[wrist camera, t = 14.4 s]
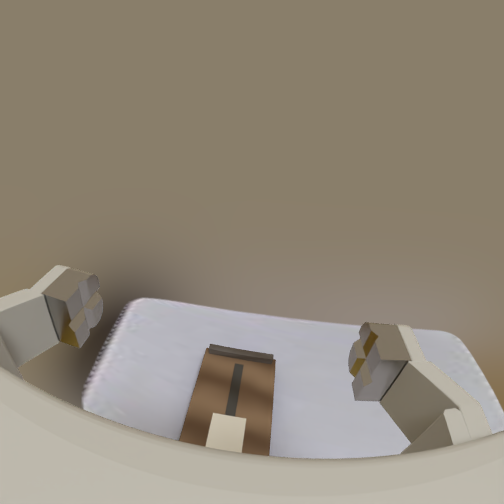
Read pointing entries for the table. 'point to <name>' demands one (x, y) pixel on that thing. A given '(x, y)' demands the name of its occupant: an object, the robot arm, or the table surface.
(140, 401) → the table surface
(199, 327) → the table surface
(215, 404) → the fader track
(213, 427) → the fader tab
